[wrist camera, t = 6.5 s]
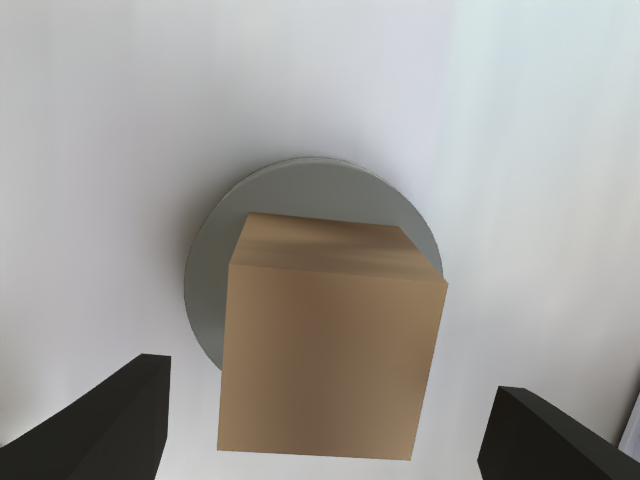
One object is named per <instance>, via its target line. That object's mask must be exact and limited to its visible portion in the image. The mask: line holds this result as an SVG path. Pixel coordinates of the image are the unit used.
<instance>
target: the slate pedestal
mask: <svg viewBox="0 0 640 480" xmlns="http://www.w3.org/2000/svg"><path fill="white" fill-rule="evenodd" d="M249 212H258V213H268V214H278V215H288V216H298V217H307V218H317V219H327V220H337V221H347V222H357V223H367V224H377V225H387V226H396V227H400V228H401V229H402V231H403V232H404V233H405V234H406V235H407V236H408V238H409V239H410V240H411V241H412V242H413V243H414V244H415V246H416V247H417V248H418V249H419V250H420V251H421V253H422V254H423V255H424V256H425V257H426V258H427V260H428V261H429V262H430V263H431V264H432V265H433V266H434V268H435V269H436V270H437V271H438V272H439V273H440V275H441V276H442V277H443V270H442V262H441V258H440V254H439V250H438V246H437V244H436V241H435V239H434V237H433V234H432V232H431V230H430V228H429V227H428V225H427V224H426V222H425V220H424V219H423V217H422V216H421V215H420V213H419V212H418V211H417V210H416V208H415V207H414V206H413V205H412V204H411V203H410V202H409V201H408V200H407V199H406V198H405V197H404V196H403V195H401V194H400V193H399V192H398V191H397V190H396V189H395V188H393V187H392V186H391V185H390V184H389V183H387V182H386V181H385V180H383V179H382V178H380V177H379V176H377V175H376V174H374V173H372V172H370V171H368V170H366V169H364V168H362V167H360V166H358V165H355V164H352V163H349V162H346V161H341V160H337V159H332V158H320V157H306V158H295V159H290V160H285V161H281V162H278V163H275V164H272V165H269V166H266V167H264V168H262V169H260V170H258V171H256V172H254V173H252V174H250V175H249V176H247V177H246V178H244V179H243V180H242V181H240V182H239V183H237V184H236V185H235V186H234V187H233V188H232V189H231V190H230V191H229V192H227V193H226V194H225V196H224V197H223V198H222V199H221V200H220V202H219V203H218V204H217V205H216V207H215V208H214V209H213V211H212V212H211V213H210V215H209V216H208V217H207V219H206V220H205V222H204V223H203V225H202V227H201V228H200V230H199V231H198V233H197V235H196V237H195V240H194V242H193V244H192V246H191V249H190V252H189V256H188V259H187V263H186V269H185V277H184V299H185V305H186V311H187V315H188V318H189V321H190V325H191V328H192V330H193V332H194V334H195V336H196V338H197V340H198V342H199V344H200V345H201V347H202V348H203V350H204V351H205V353H206V355H207V356H208V357H209V358H210V359H211V360H212V362H213V363H214V364H215V365H216V366H217V367H218V368H219V369H220V370H221V371H222V364H223V349H224V334H225V318H226V303H227V288H228V272H229V263H230V260H231V258H232V255H233V252H234V250H235V247H236V245H237V242H238V240H239V237H240V235H241V232H242V229H243V227H244V224H245V222H246V219H247V217H248V214H249Z"/></svg>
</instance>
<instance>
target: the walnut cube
mask: <svg viewBox="0 0 640 480" xmlns="http://www.w3.org/2000/svg"><path fill="white" fill-rule="evenodd" d="M447 288H448V283H447V282H446V280H445V279H444V278H443V277H442V276H441V275H440V273H439V272H438V271H437V270H436V269H435V268H434V266H433V265H432V264H431V263H430V262H429V261H428V260H427V258H426V257H425V256H424V255H423V254H422V253H421V251H420V250H419V249H418V248H417V247H416V246H415V244H414V243H413V242H412V241H411V240H410V239H409V238H408V236H407V235H406V234H405V233H404V232H403V231H402V229H401V228H400V227H396V226H387V225H377V224H367V223H357V222H347V221H337V220H327V219H317V218H307V217H298V216H288V215H278V214H268V213H258V212H249V214H248V217H247V219H246V222H245V224H244V227H243V229H242V232H241V235H240V237H239V240H238V242H237V245H236V247H235V250H234V252H233V255H232V258H231V260H230V263H229V272H228V288H227V303H226V318H225V334H224V349H223V364H222V380H221V395H220V410H219V426H218V441H217V450H221V451H240V452H258V453H277V454H296V455H315V456H334V457H352V458H371V459H390V460H409V461H410V460H411V456H412V451H413V446H414V442H415V437H416V432H417V428H418V423H419V418H420V414H421V409H422V404H423V400H424V395H425V390H426V386H427V381H428V376H429V372H430V367H431V362H432V358H433V353H434V348H435V344H436V339H437V334H438V330H439V325H440V320H441V316H442V311H443V306H444V302H445V297H446V292H447Z"/></svg>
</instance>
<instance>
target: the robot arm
mask: <svg viewBox="0 0 640 480" xmlns="http://www.w3.org/2000/svg"><path fill="white" fill-rule="evenodd" d="M170 371H171V356H163V355H152V354H140V355H139V356H137V357H136V358H135V359H133V360H132V361H130V362H129V363H128V364H126V365H125V366H123V367H122V368H121V369H119V370H118V371H117V372H115V373H114V374H112V375H111V376H110V377H108V378H107V379H106V380H104V381H103V382H101V383H100V384H99V385H97V386H96V387H95V388H93V389H92V390H90V391H89V392H87V393H86V394H85V395H83V396H82V397H80V398H79V399H77V400H76V401H75V402H73V403H72V404H70V405H69V406H67V407H66V408H64V409H63V410H61V411H60V412H58V413H57V414H55V415H53V416H52V417H50V418H49V419H47V420H46V421H44V422H42V423H41V424H39V425H38V426H36V427H35V428H33V429H31V430H30V431H28V432H27V433H25V434H24V435H22V436H20V437H19V438H17V439H16V440H14V441H12V442H10V443H9V444H7V445H5V446H4V447H2V448H0V480H154V479H155V476H156V473H157V470H158V467H159V463H160V460H161V457H162V453H163V450H164V447H165V443H166V440H167V431H168V411H169V391H170ZM477 462H478V465H479V468H480V471H481V475H482V478H483V480H640V393H639V396H638V398H637V401H636V403H635V406H634V408H633V411H632V413H631V416H630V419H629V421H628V424H627V426H626V429H625V431H624V434H623V436H622V439H621V442H620V444H619V447H618V448H616V447H615V446H613V445H612V444H610V443H609V442H607V441H606V440H604V439H603V438H601V437H600V436H598V435H597V434H595V433H594V432H592V431H591V430H589V429H588V428H586V427H585V426H583V425H582V424H580V423H579V422H577V421H576V420H575V419H573V418H572V417H570V416H569V415H567V414H566V413H564V412H563V411H561V410H560V409H558V408H557V407H555V406H553V405H552V404H550V403H549V402H547V401H546V400H544V399H542V398H541V397H539V396H538V395H536V394H534V393H532V392H530V391H529V390H527V389H525V388H516V387H505V386H498V389H497V393H496V396H495V400H494V403H493V407H492V410H491V414H490V417H489V421H488V424H487V428H486V431H485V435H484V438H483V442H482V445H481V449H480V452H479V456H478V459H477Z"/></svg>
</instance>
